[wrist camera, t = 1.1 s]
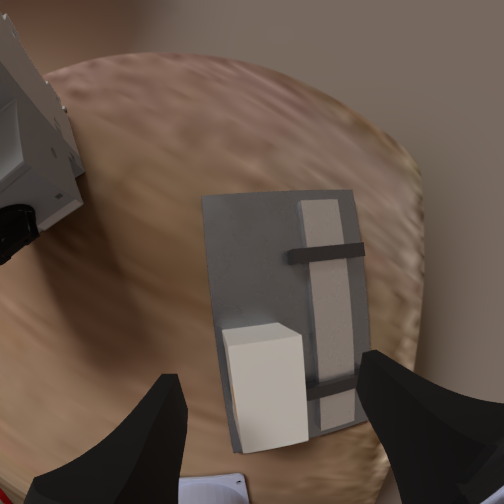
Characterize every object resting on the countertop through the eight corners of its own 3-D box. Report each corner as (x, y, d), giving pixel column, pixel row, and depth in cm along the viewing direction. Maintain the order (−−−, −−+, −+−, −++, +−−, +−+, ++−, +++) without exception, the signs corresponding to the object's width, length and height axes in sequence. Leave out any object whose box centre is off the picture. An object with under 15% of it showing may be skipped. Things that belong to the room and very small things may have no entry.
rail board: (364, 415, 21) (378, 425, 19) (232, 446, 19) (235, 462, 17) (346, 193, 23) (361, 184, 21) (201, 199, 21) (201, 189, 19)
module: (278, 322, 20) (301, 335, 15) (286, 408, 19) (308, 440, 14) (221, 329, 19) (227, 346, 14) (233, 417, 19) (243, 453, 14)
